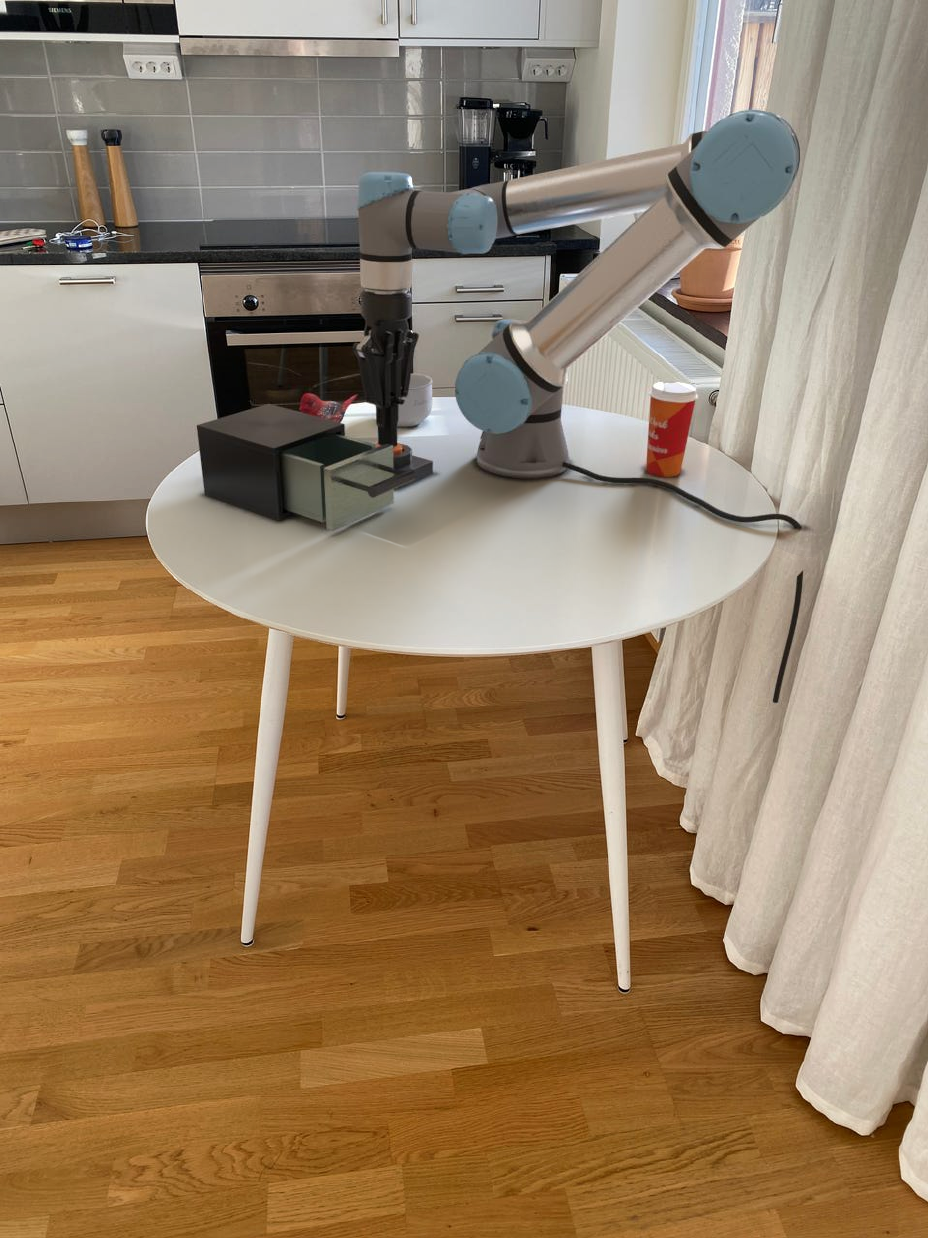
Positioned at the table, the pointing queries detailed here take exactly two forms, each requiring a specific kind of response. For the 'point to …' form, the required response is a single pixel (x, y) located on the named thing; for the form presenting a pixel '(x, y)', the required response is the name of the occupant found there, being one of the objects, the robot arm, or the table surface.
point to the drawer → (339, 479)
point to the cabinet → (255, 455)
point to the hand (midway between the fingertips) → (387, 444)
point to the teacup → (416, 401)
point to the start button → (395, 449)
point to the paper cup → (669, 426)
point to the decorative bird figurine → (324, 407)
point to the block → (412, 464)
